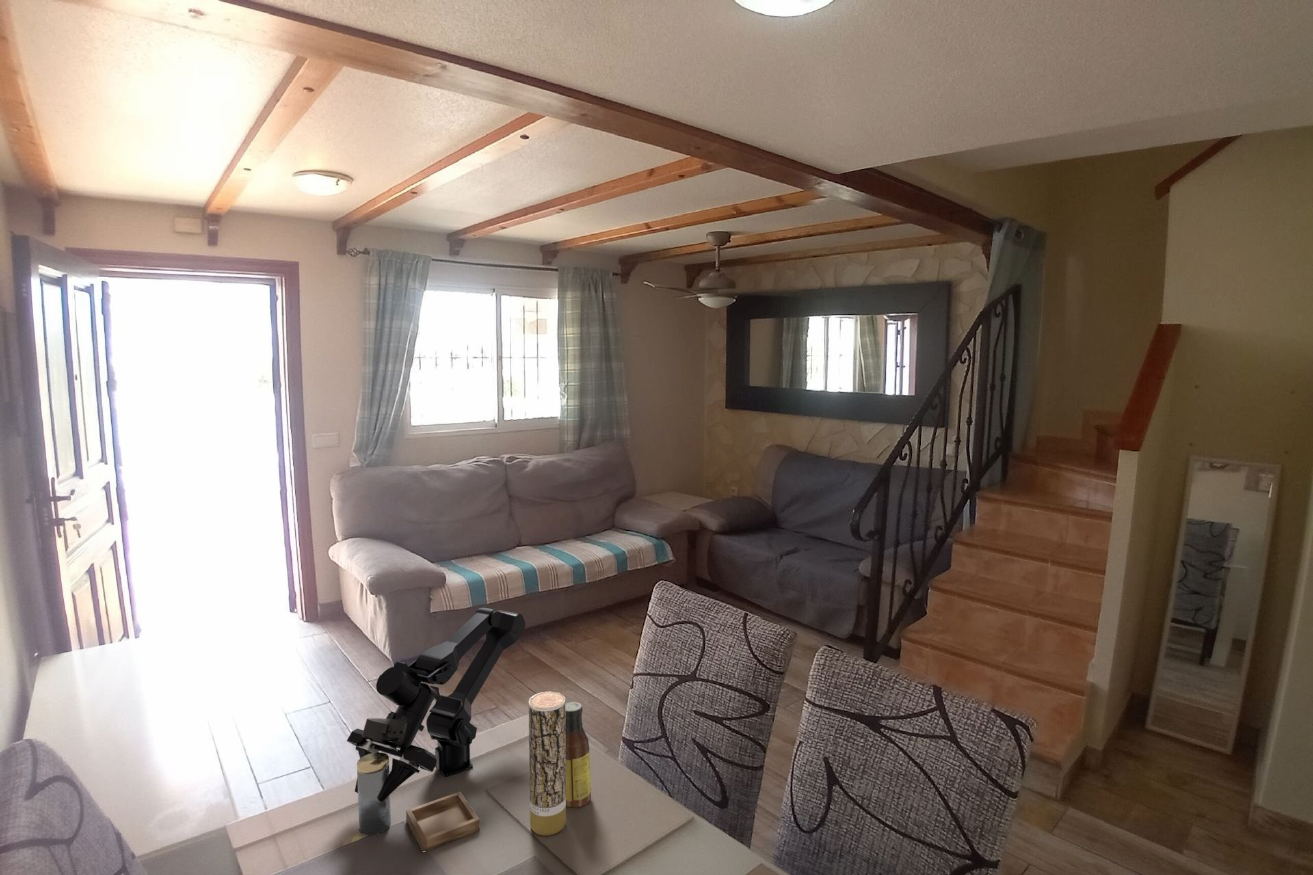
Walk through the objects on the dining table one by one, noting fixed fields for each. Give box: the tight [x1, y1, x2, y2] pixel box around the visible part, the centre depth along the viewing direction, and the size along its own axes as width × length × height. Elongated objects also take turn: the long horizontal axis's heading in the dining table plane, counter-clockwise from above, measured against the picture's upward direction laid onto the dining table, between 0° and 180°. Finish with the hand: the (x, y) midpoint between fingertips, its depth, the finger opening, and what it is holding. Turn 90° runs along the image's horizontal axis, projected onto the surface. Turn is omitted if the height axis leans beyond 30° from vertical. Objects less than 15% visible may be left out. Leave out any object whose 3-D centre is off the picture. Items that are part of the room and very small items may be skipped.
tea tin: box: [356, 751, 392, 836], centre depth 128 cm, size 6×6×13 cm
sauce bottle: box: [565, 701, 592, 809], centre depth 135 cm, size 7×6×20 cm
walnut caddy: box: [405, 791, 481, 852], centre depth 128 cm, size 11×11×2 cm
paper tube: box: [528, 691, 567, 836], centre depth 127 cm, size 7×7×25 cm
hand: (368, 796), depth 126 cm, fingers closed on tea tin, 6 cm apart
